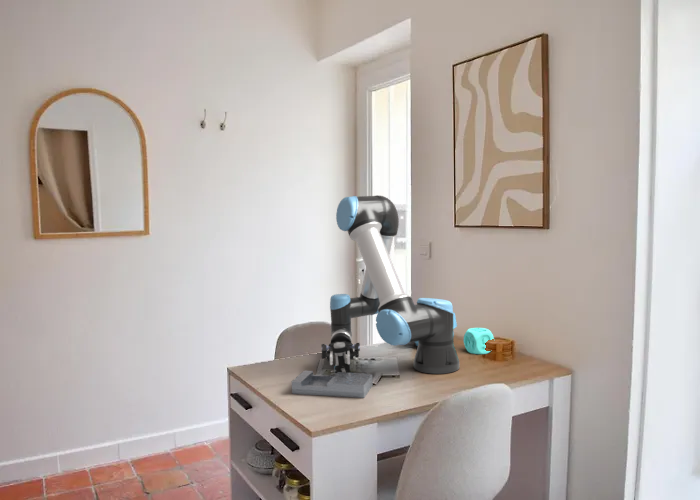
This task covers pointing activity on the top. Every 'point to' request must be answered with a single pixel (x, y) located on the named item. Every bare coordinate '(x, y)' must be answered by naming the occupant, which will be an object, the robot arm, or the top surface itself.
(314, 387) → the grey recessed block
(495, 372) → the top surface
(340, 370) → the push button
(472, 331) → the decorative dice
